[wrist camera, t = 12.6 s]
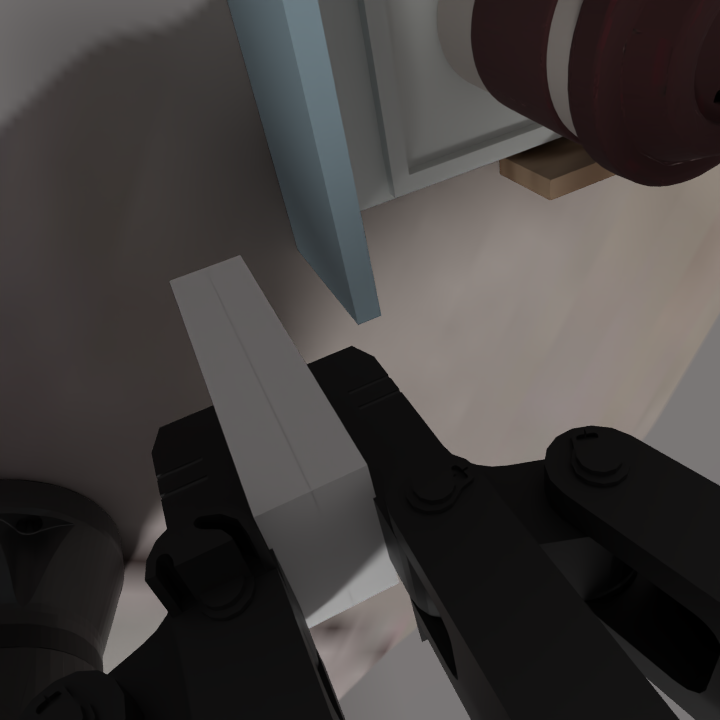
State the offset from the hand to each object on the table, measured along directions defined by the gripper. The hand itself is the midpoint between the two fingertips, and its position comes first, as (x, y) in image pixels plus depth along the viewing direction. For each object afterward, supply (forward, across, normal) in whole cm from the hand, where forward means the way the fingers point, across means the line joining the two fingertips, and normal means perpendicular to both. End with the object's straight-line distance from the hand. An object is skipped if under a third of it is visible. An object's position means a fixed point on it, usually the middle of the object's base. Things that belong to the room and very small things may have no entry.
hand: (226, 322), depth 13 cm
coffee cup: (+19, +19, 0) cm, 27 cm away
